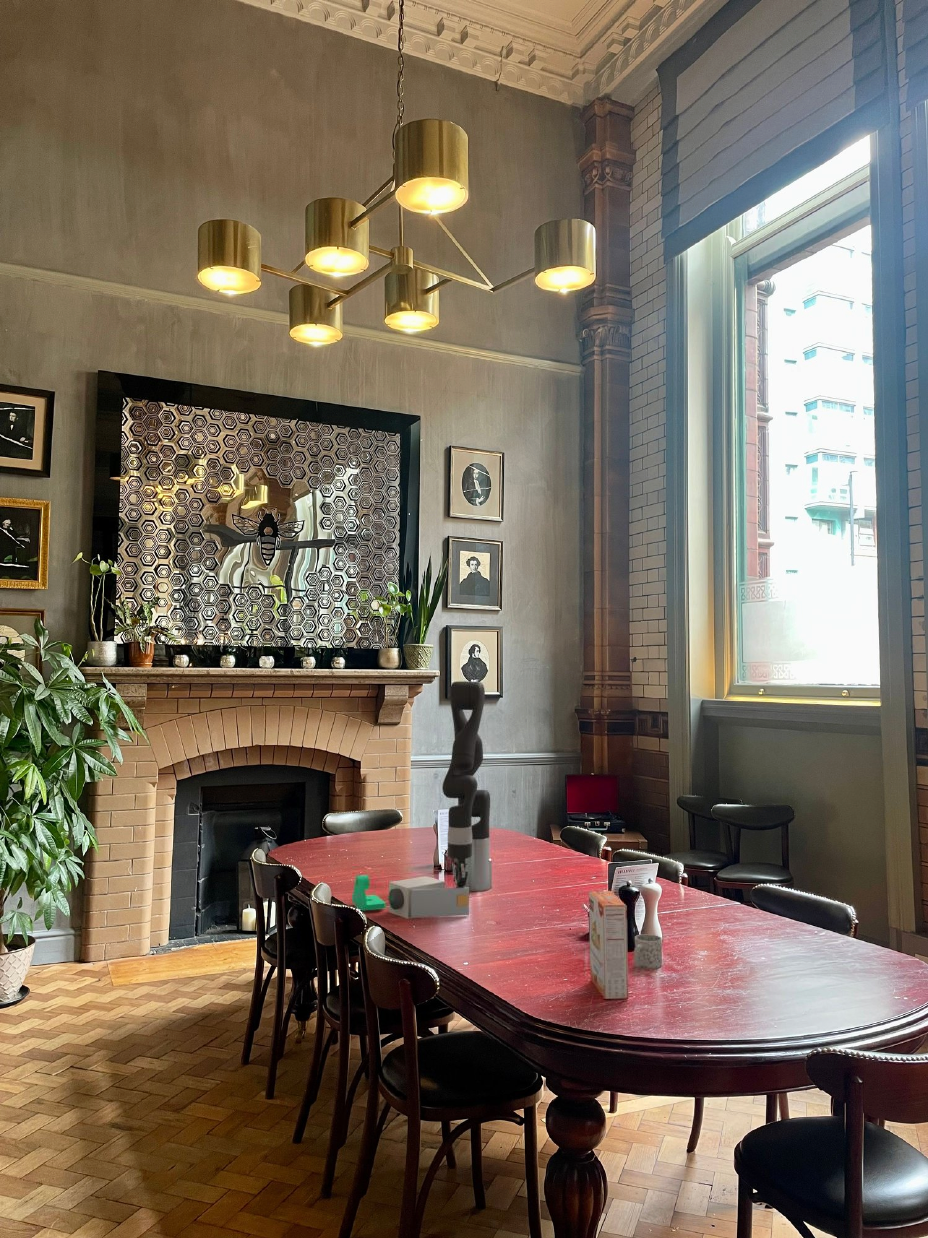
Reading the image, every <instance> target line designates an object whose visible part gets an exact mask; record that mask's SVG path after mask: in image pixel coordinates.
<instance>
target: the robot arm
mask: <svg viewBox="0 0 928 1238" xmlns="http://www.w3.org/2000/svg"><path fill="white" fill-rule="evenodd" d="M485 696H486V693H485V686H484V684H483V682H480V681H466V680H465V681H458V680H457V681H453V682H452V683H451V685H450V688H449V701H450V707H451V708H450V709H451V715H452V721H453V731H454V732H453V733H454V740H453V744H452V750H451V751H452V752H451V759H450V763H449V767H448V770H447V772H446V775H445V777H444V780H443V782H442V788H441V789H442V793H443V795H444V796H445V797H446V798H448V799H457V805H452V806H451V807H449V809H448V823H447V824H448V829H447V857H448V858H450V859H453V862H452V865H451V867H452V875H453V882H454V885H455V888H462V887H469V892H483V891H487V890H490V889H491V888H493V881H492V880H493V868H492V867H493V863H492V861H493V860H492V859H491V858H490V813H491V812H490V811H491V794H490V792H489V790H486V789H478V781H477V778H475V777H474V775H475V774H476V773H477V772H478V770H479V769H480V767H481V765H482V763H483V761H484V749H483V741H482V739H481V736H480V734H478V733H479V730H480V725H481V721H482V720H481V719H482V715H483V711H484V706H485V701H486V700H485V699H486V697H485ZM464 711H471V714H470V716H469V719H467V717H466V715H465V712H464ZM472 818H479V821H477V822H476V823H474V824H472Z"/></svg>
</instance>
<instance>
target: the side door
mask: <svg viewBox="0 0 928 1238" xmlns="http://www.w3.org/2000/svg"><path fill="white" fill-rule="evenodd" d="M469 915H470V891H469V887H462V888H456V887H445V888H438V889H414V890H409V919H414V918H431V917H432V918H435V917H452V916H453V917H456V916H469Z"/></svg>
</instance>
